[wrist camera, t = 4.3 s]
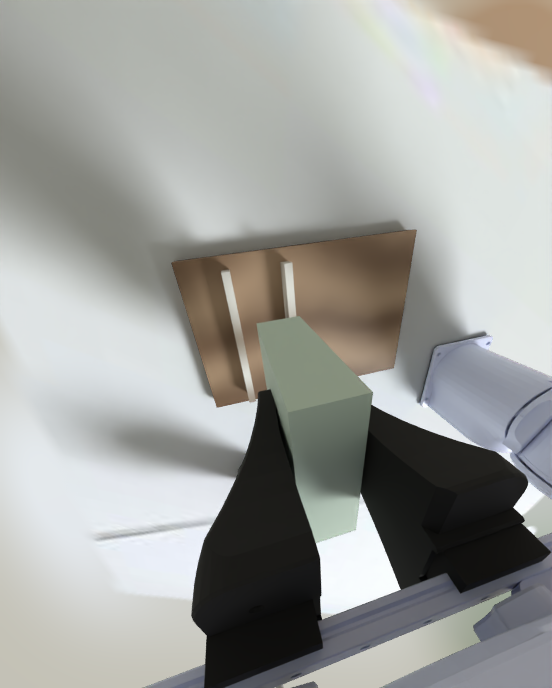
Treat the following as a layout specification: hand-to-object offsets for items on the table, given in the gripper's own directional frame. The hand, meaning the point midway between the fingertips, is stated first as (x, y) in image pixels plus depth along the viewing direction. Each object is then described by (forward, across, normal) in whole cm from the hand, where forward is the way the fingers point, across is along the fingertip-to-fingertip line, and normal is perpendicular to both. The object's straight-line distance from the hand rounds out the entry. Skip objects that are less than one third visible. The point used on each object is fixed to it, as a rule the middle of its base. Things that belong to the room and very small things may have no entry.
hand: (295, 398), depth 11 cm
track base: (+10, -4, 0) cm, 11 cm away
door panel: (+2, 0, 0) cm, 3 cm away
